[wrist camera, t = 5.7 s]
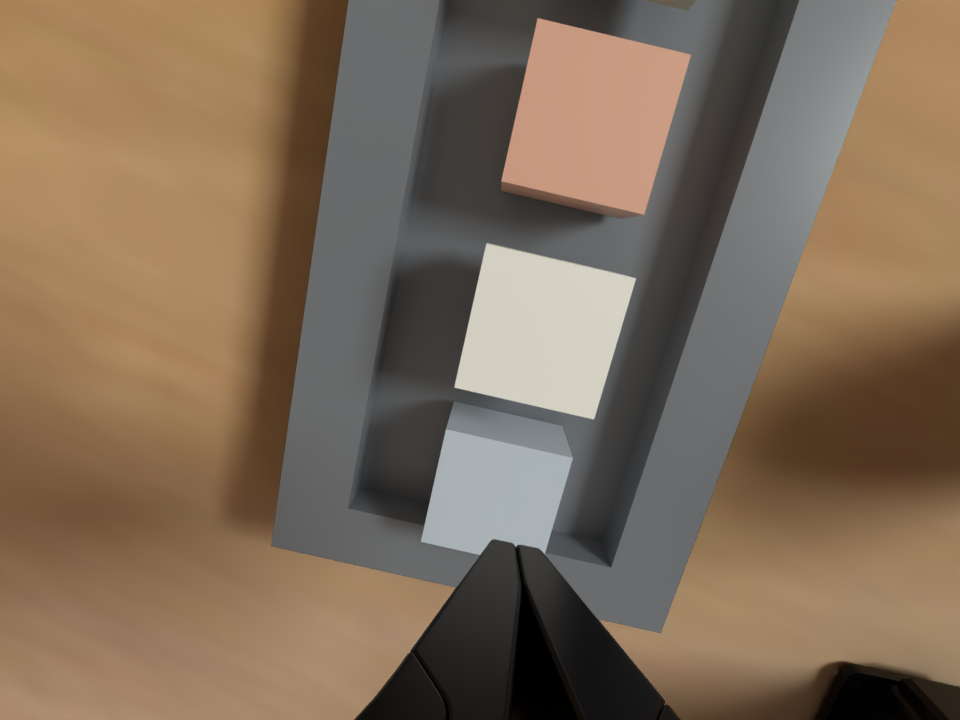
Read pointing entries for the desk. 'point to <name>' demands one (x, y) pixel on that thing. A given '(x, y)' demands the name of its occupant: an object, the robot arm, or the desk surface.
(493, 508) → the key slate
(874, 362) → the desk surface
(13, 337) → the desk surface
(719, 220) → the keypad board
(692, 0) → the key sage
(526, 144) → the key terracotta
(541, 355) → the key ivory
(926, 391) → the desk surface
